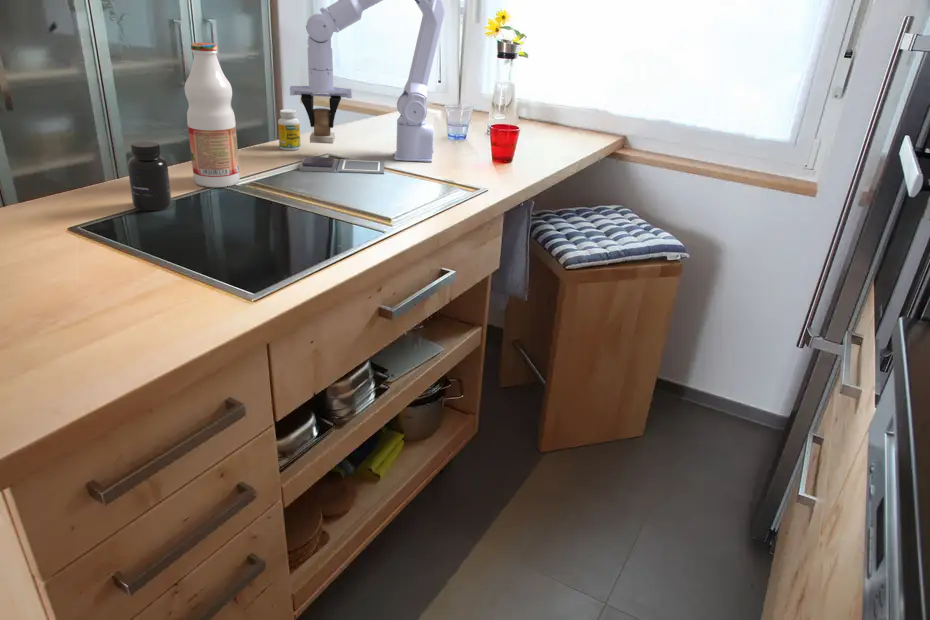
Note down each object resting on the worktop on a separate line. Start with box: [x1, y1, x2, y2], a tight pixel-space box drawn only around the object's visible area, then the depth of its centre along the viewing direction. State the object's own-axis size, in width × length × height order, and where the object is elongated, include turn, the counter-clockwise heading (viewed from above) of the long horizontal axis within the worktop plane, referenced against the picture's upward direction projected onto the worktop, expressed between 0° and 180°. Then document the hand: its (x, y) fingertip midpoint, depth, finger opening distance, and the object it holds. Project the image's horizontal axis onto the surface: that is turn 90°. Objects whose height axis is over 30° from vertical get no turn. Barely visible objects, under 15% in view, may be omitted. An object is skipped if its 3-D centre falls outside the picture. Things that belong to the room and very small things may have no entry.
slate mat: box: [336, 158, 385, 175], centre depth 166 cm, size 11×11×1 cm
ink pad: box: [299, 156, 338, 173], centre depth 163 cm, size 8×7×2 cm
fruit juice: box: [184, 42, 241, 188], centre depth 141 cm, size 9×9×28 cm
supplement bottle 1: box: [127, 140, 172, 212], centre depth 128 cm, size 7×7×12 cm
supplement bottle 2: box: [277, 108, 301, 151], centre depth 175 cm, size 5×5×10 cm
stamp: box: [309, 107, 336, 145], centre depth 168 cm, size 6×6×8 cm
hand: (322, 126), depth 168 cm, fingers closed on stamp, 4 cm apart
